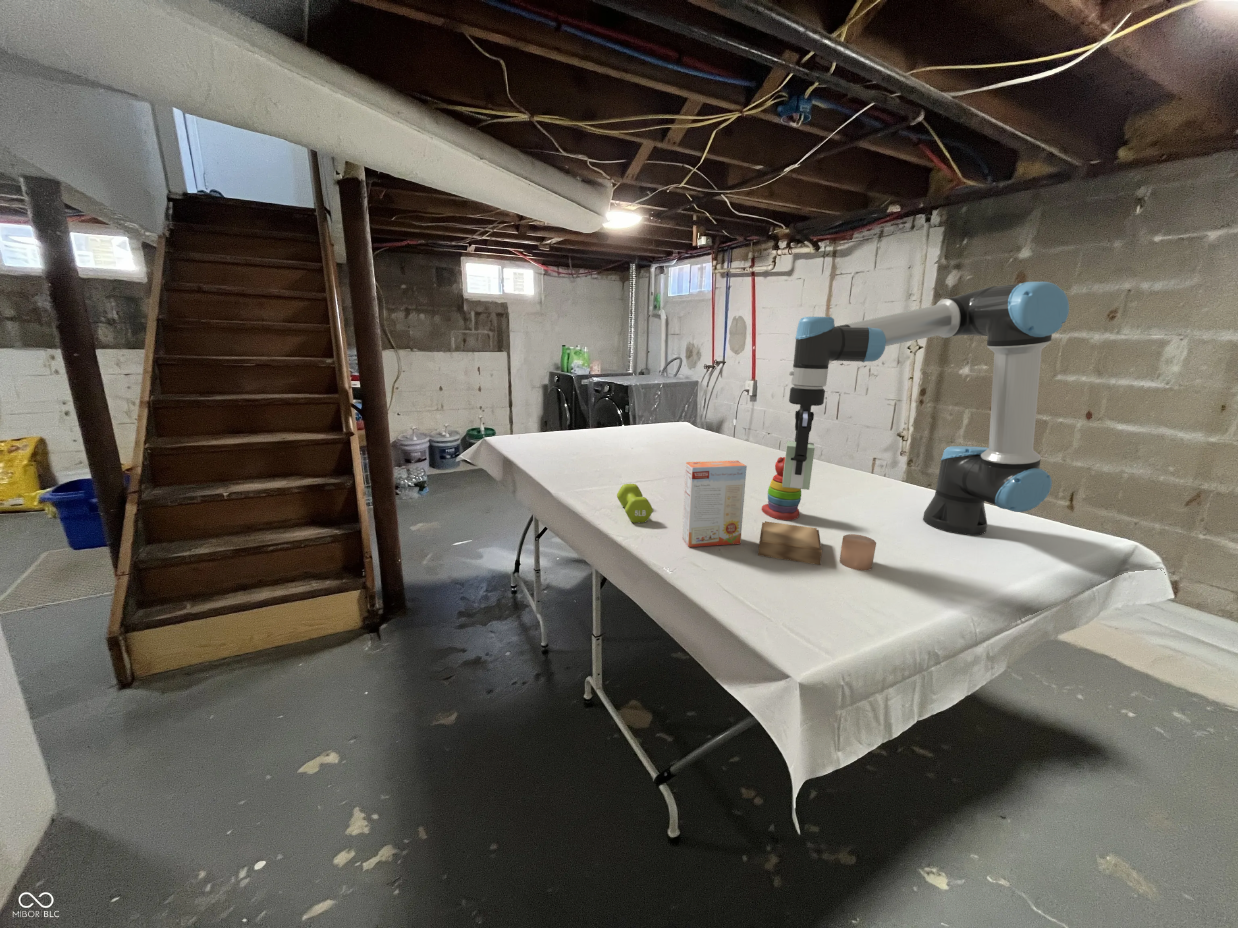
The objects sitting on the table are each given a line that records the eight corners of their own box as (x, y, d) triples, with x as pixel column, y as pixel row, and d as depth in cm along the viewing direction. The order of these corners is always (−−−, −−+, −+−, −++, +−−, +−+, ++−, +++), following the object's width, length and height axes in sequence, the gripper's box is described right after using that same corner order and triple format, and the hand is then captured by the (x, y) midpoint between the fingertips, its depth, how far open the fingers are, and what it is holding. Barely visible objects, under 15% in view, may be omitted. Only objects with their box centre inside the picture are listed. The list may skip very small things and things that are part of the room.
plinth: (817, 542, 125) (819, 527, 124) (820, 564, 113) (822, 549, 112) (761, 534, 130) (762, 520, 129) (757, 555, 117) (759, 540, 116)
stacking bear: (795, 509, 149) (802, 453, 145) (804, 521, 139) (812, 462, 135) (760, 507, 150) (765, 452, 146) (766, 519, 140) (772, 460, 136)
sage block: (808, 482, 119) (813, 443, 116) (809, 489, 113) (814, 448, 111) (782, 480, 121) (787, 440, 118) (782, 486, 115) (787, 445, 113)
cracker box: (731, 535, 128) (738, 459, 123) (741, 545, 123) (748, 465, 117) (680, 538, 126) (685, 460, 121) (687, 547, 120) (692, 466, 115)
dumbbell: (653, 523, 136) (654, 499, 134) (625, 525, 134) (626, 500, 133) (640, 504, 151) (641, 482, 150) (615, 505, 150) (616, 482, 148)
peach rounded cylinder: (869, 559, 116) (873, 536, 114) (874, 572, 110) (878, 548, 108) (838, 555, 118) (841, 532, 117) (840, 567, 112) (844, 543, 110)
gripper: (790, 382, 121) (780, 471, 127) (790, 389, 103) (778, 492, 109) (822, 384, 119) (811, 475, 124) (828, 391, 101) (814, 496, 107)
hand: (796, 483), depth 117 cm, fingers closed on sage block, 6 cm apart
